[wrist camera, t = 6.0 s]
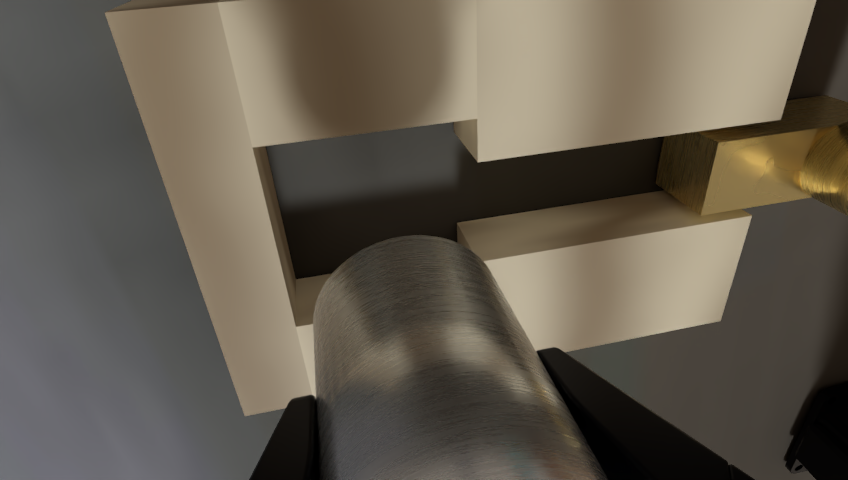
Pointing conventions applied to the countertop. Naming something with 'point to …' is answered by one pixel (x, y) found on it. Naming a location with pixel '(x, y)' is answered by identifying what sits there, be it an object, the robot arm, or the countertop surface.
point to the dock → (476, 128)
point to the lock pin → (762, 160)
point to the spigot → (434, 374)
